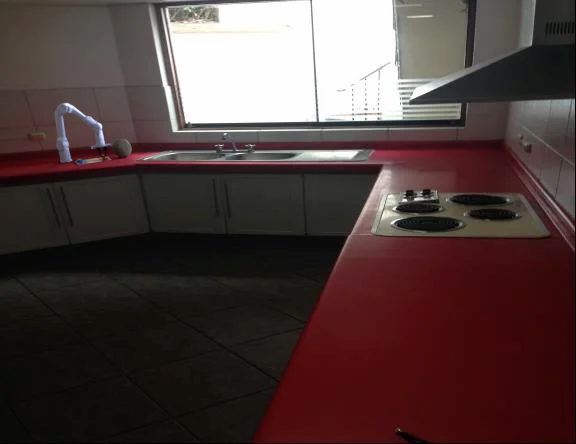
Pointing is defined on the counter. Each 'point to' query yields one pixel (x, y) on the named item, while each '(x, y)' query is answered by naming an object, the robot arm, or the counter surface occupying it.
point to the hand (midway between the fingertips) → (103, 156)
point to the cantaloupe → (121, 148)
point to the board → (92, 160)
